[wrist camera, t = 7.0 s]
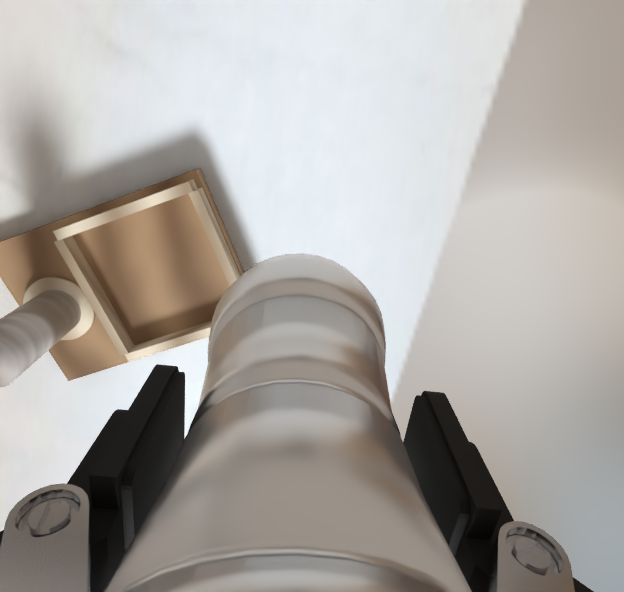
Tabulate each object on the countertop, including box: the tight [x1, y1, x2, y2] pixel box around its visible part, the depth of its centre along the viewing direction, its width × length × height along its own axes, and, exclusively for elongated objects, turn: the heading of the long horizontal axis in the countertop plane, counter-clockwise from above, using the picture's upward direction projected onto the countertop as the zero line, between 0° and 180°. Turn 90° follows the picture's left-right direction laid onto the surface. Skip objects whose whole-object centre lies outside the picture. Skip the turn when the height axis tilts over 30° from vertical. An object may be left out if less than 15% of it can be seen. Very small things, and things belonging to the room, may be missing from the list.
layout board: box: [0, 168, 244, 387], centre depth 34 cm, size 20×14×11 cm
